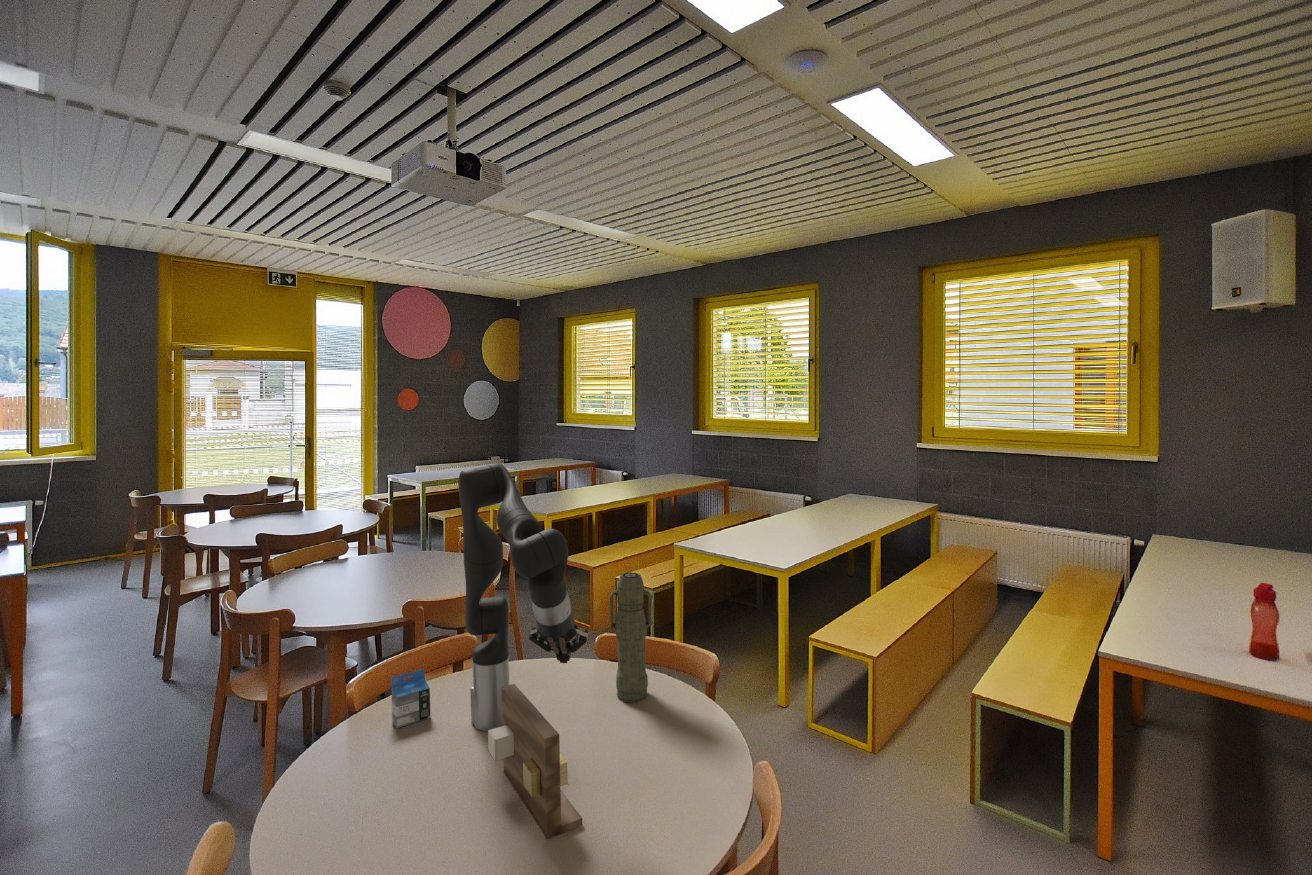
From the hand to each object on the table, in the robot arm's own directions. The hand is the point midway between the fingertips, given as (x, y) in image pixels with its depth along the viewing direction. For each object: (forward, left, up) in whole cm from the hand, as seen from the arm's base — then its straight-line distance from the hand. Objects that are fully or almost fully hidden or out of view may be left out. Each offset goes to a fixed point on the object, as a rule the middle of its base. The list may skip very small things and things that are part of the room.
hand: (564, 659), depth 139 cm
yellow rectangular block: (+4, -13, -20) cm, 24 cm away
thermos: (-8, +42, -28) cm, 51 cm away
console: (-2, -7, -28) cm, 29 cm away
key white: (-11, -6, -20) cm, 24 cm away
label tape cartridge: (-53, +3, -28) cm, 60 cm away
